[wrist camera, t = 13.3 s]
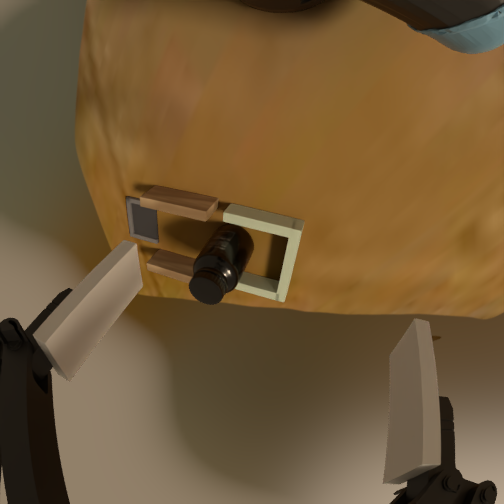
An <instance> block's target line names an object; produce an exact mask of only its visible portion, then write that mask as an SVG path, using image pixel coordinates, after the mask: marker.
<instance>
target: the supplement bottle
mask: <svg viewBox="0 0 504 504" xmlns="http://www.w3.org/2000/svg"><path fill="white" fill-rule="evenodd" d="M253 250H254V243H253V240H252V238H251V236H250V235H249V233H248V232H247V231H246V230H244V229H243V228H241V227H239V226H236V225H224V226H221V227H219V228H218V229H217V230H216V231H215V232H214V234H213V235H212V236H211V238H210V239H209V241H208V242H207V243H206V245H205V246H204V248H203V249H202V251H201V252H200V253H199V255H198V256H197V258H196V259H195V261H194V263H193V274H194V275H193V277H192V279H191V280H190V282H189V289H190V292H191V294H192V295H193V296H194V297H195V298H196V299H197V300H198V301H200V302H203V303H205V304H210V305H211V304H212V305H214V304H217V303H219V302H220V301H221V300H222V298H223V296H224V295H225V294H226V293H228V292H230V291H232V290H234V289H235V288H236V286H237V285H238V283H239V281H240V279H241V277H242V275H243V272H244V270H245V268H246V266H247V264H248V262H249V260H250V258H251V255H252V253H253Z"/></svg>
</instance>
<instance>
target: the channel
mask: <svg viewBox="0 0 504 504" xmlns="http://www.w3.org/2000/svg"><path fill="white" fill-rule="evenodd" d="M140 206H141V207H146V208H150V209H154V210H158V211H163V212H167V213H171V214H175V215H180V216H184V217H188V218H192V219H196V220H201V221H205V222H206V221H207V220H208V219H209V217H210V216H211V215H212V214H213V213H214V212H215V210H216V209H217V208H218V198H214V197H210V196H205V195H200V194H196V193H191V192H186V191H181V190H176V189H171V188H166V187H161V186H156V185H155V186H154V187H152V188H151V189H150V190H148V191H147V192H146V193H144V194H143V195H142V196H140ZM194 261H195V259H193V258H189V257H186V256H182V255H179V254H176V253H172V252H169V251H165V250H162V249H159V250H158V251H157V252H156V253H155V254H154V255H153V256H152V258H151V259H150V260H149V261H148V262H147V269H148V270H149V271H152V272H155V273H158V274H161V275H164V276H167V277H170V278H174V279H177V280H180V281H183V282H186V283H189V282H190V280H191V279H192V277H193V275H194V274H193V263H194Z"/></svg>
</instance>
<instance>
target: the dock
mask: <svg viewBox="0 0 504 504" xmlns="http://www.w3.org/2000/svg"><path fill="white" fill-rule="evenodd" d="M223 222H227V223H231V224H236V225H240V226H244V227H248V228H252V229H256V230H260V231H264V232H268V233H272V234H276V235H280V236H284V237H288V238H289V239H288V244H287V248H286V253H285V258H284V262H283V267H282V271H281V276H280V281H277V280H273V279H270V278H266V277H262V276H258V275H255V274H251V273H247V272H243V275H242V277H241V279H240V281H239V283H238V285H237V286H236V288H235V289H238V290H241V291H245V292H248V293H252V294H255V295H259V296H262V297H266V298H270V299H273V300H277V301H281V302H284V301H285V298H286V295H287V291H288V287H289V284H290V280H291V276H292V272H293V267H294V263H295V259H296V255H297V251H298V247H299V243H300V238H301V234H302V230H303V225H304V221H303V220H299V219H295V218H291V217H287V216H283V215H279V214H275V213H271V212H267V211H262V210H258V209H254V208H250V207H245V206H241V205H236V204H232V203H231V204H230V205H229V206H228V207H227V209H226V210H225V211H224V214H223Z"/></svg>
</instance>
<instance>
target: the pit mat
mask: <svg viewBox="0 0 504 504" xmlns="http://www.w3.org/2000/svg"><path fill="white" fill-rule="evenodd" d="M126 204H127V213H128V222H129V229H130V236H132V237H135V238H139V239H142V240H145V241H149V242H152V243H156V244H158V242H159V238H158V224H157V210H154V209H150V208H146V207H141V206H140V199H138V198H134V197H129V196H127V197H126Z"/></svg>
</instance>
